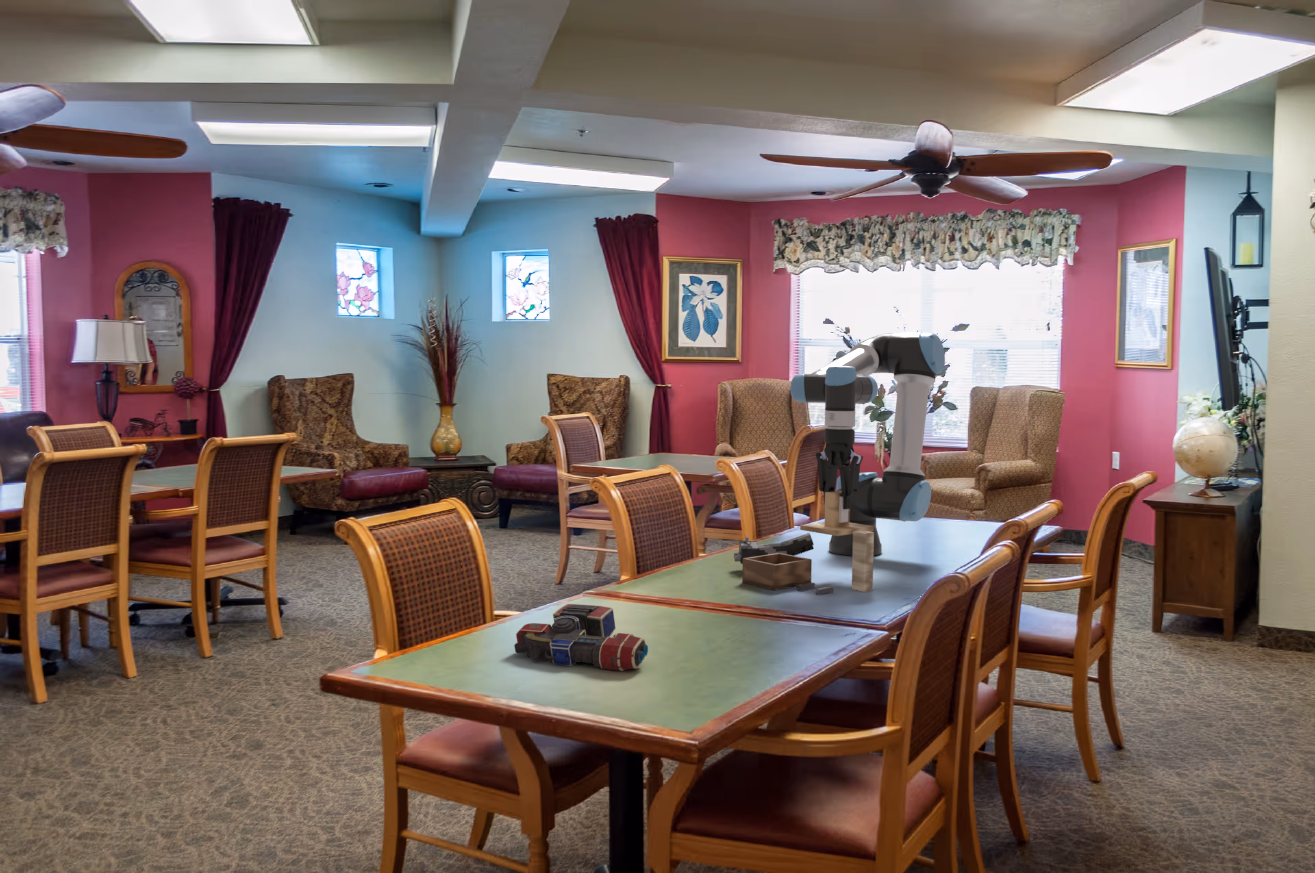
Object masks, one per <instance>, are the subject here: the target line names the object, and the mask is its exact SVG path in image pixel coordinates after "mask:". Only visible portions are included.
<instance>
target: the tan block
mask: <svg viewBox="0 0 1315 873" xmlns="http://www.w3.org/2000/svg"><path fill="white" fill-rule="evenodd" d="M873 552H874V532H869V531H863V530H861V531H855V532H853V556H851V557H852V560H851V561H852V563H851V568H852V569H851V590H852V591H856V590H858V591H857V592H862V593H866V592H871V591H873V587H874V584H873V583H874V555H873ZM870 590H871V591H870Z"/></svg>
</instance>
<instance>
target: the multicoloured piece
mask: <svg viewBox="0 0 1315 873" xmlns="http://www.w3.org/2000/svg"><path fill="white" fill-rule="evenodd" d="M552 617H553V623H552V625H551V623H538V622H537V623H536V622H531V623H526V624H524V625H523V626H522V627H521V628H520V629H519V630H518V631H517V633H516V634H515V637H516V638H515V639H516V642H515V643H514V645H513V646H514V652H515V653H516V654H521V653H526V655H527V657H528V658H530V659H531V660H532V661H537V660H538V661H540V660H541V661H551V662H552V664H553V665H561V666H567V667H569V666H570V667H572V666H574V665H575V664H576V663H579V662H581V663H584V664H593V666H594V667H595V668H597V669H599V668H600V669H601V670H608V671H620V672H624V671H625V670H635V669H638V668H639V667H640V665H641V664H642V663H643V661H644V660H645V657H647V656H648V652H649V646H648V644H646V643H647V642H646V640H645V639H644V638H642V637H638V636H635V635H634V634H632V633H622V632H618V633H616V634H613V633H614V632H615V630H616V623H615V622H616V621H615V615H614V608H613V607H608V606H602V605H592V604H591V605H590V604H578V603H576V604H575V603H566V604H565V605H563V606H561V607H559V608H558V609H557V610H556V611H555V612H554V613H552Z"/></svg>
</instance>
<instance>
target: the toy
mask: <svg viewBox="0 0 1315 873" xmlns="http://www.w3.org/2000/svg"><path fill="white" fill-rule="evenodd" d="M749 537H750V536H749V535H745V538H744V540H739V543H738V544H739V547H738V548H739V549H738V551H737V552H733V560H734V562H735V563H736V562H738V563H740V564H741V565H743V558H749V557H756V556H762V555H768V554H775V553H782V554H787V555H792V556H797V555H800V554H803V553H806V552H809V551H812V550H814V548H815V547H814V541H813V538H812V536H811V532H807V533H804V534H801V535H799V536H795V537H793V538H790V539H787V540H784V541H781V542H779V543H778V542H777V543H776V542H775V543H763V544H757V541H756V540H749Z"/></svg>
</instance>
